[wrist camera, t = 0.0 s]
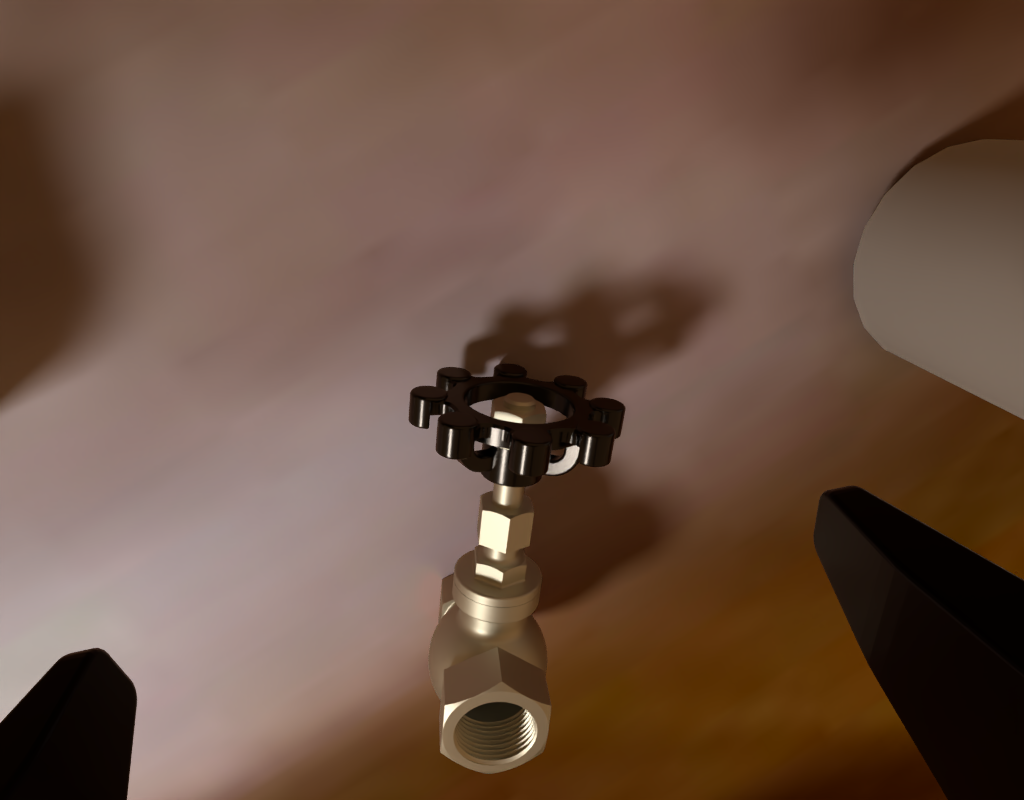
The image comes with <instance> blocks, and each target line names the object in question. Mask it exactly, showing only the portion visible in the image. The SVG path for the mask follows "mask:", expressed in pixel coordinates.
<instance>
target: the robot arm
mask: <svg viewBox="0 0 1024 800" xmlns="http://www.w3.org/2000/svg"><path fill="white" fill-rule="evenodd" d="M814 544H815V548H816V551H817V554H818V556H819V558H820V561H821V563H822V565H823V567H824V569H825V572H826V574H827V576H828V578H829V580H830V583H831V585H832V587H833V589H834V591H835V594H836V596H837V598H838V600H839V602H840V605H841V607H842V609H843V611H844V613H845V615H846V618H847V620H848V622H849V624H850V626H851V629H852V631H853V633H854V635H855V637H856V640H857V642H858V644H859V646H860V648H861V650H862V652H863V654H864V656H865V658H866V660H867V663H868V664H869V666H870V668H871V670H872V672H873V673H874V675H875V677H876V679H877V681H878V682H879V684H880V686H881V687H882V689H883V691H884V692H885V694H886V696H887V697H888V699H889V701H890V703H891V704H892V706H893V708H894V709H895V711H896V713H897V714H898V716H899V718H900V719H901V721H902V723H903V724H904V726H905V728H906V730H907V731H908V733H909V735H910V736H911V738H912V740H913V741H914V743H915V745H916V746H917V748H918V750H919V751H920V753H921V755H922V757H923V758H924V760H925V762H926V763H927V765H928V767H929V768H930V770H931V772H932V773H933V775H934V777H935V778H936V780H937V782H938V784H939V785H940V787H941V789H942V790H943V792H944V794H945V795H946V797H947V799H948V800H1024V580H1023V579H1021V578H1019V577H1017V576H1016V575H1014V574H1012V573H1010V572H1009V571H1007V570H1005V569H1003V568H1002V567H1000V566H998V565H996V564H995V563H993V562H991V561H989V560H988V559H986V558H984V557H982V556H980V555H979V554H977V553H975V552H973V551H972V550H970V549H968V548H966V547H965V546H963V545H961V544H959V543H958V542H956V541H954V540H952V539H951V538H949V537H947V536H945V535H944V534H942V533H940V532H938V531H936V530H935V529H933V528H931V527H929V526H928V525H926V524H924V523H922V522H921V521H919V520H917V519H915V518H914V517H912V516H910V515H908V514H907V513H905V512H903V511H901V510H900V509H898V508H896V507H894V506H893V505H891V504H889V503H887V502H885V501H884V500H882V499H880V498H878V497H877V496H875V495H873V494H871V493H870V492H868V491H866V490H864V489H862V488H860V487H857V486H846V487H841V488H837V489H832V490H827V491H825V492H824V493H823V494H822V495H821V496H820V500H819V505H818V511H817V517H816V523H815V529H814ZM136 706H137V694H136V690H135V687H134V684H133V682H132V681H131V680H130V678H129V677H128V676H127V675H126V674H125V673H124V671H123V670H122V669H121V668H120V667H119V666H118V665H117V663H116V662H115V661H114V660H113V659H112V658H111V657H110V655H109V654H108V653H107V652H106V651H105V650H102V649H99V648H93V649H88V650H83V651H79V652H74V653H70V654H67V655H65V656H63V657H62V658H60V659H59V660H58V661H57V662H56V663H55V664H54V665H53V666H52V667H51V668H50V669H49V671H48V672H47V673H46V674H45V675H44V676H43V677H42V678H41V679H40V680H39V681H38V682H37V684H36V685H35V686H34V687H33V688H32V689H31V690H30V691H29V692H28V693H27V694H26V696H25V697H24V698H23V699H22V700H21V701H20V702H19V703H18V704H17V705H16V706H15V707H14V709H13V710H12V711H11V712H10V713H9V714H8V715H7V716H6V717H5V718H4V719H3V721H2V722H1V723H0V800H127V793H128V783H129V774H130V764H131V754H132V745H133V735H134V726H135V716H136Z"/></svg>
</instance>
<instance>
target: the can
mask: <svg viewBox="0 0 1024 800" xmlns="http://www.w3.org/2000/svg"><path fill="white" fill-rule="evenodd" d="M853 275H854V301H855V304H856V306H857V309H858V312H859V315H860V318H861V320H862V323H863V326H864V328H865V329H866V330H867V331H868V332H869V333H870V335H871V336H872V337H873V338H874V339H875V340H876V341H877V342H878V344H879V345H880V346H881V347H882V348H883V349H885V350H887V351H889V352H891V353H893V354H895V355H897V356H899V357H901V358H903V359H905V360H907V361H909V362H911V363H913V364H915V365H916V366H918V367H920V368H922V369H924V370H926V371H928V372H930V373H932V374H934V375H936V376H938V377H940V378H942V379H944V380H946V381H948V382H950V383H952V384H954V385H956V386H958V387H960V388H962V389H964V390H966V391H968V392H970V393H972V394H974V395H976V396H978V397H980V398H982V399H984V400H986V401H988V402H990V403H992V404H994V405H996V406H998V407H1000V408H1002V409H1004V410H1006V411H1008V412H1010V413H1012V414H1014V415H1016V416H1018V417H1020V418H1022V419H1024V140H1001V139H982V140H977V141H972V142H968V143H963V144H959V145H954V146H949V147H947V148H945V149H943V150H942V151H940V152H938V153H936V154H934V155H933V156H931V157H929V158H927V159H926V160H924V161H922V162H920V163H918V164H917V165H915V166H913V167H912V168H911V169H910V170H909V171H908V172H907V173H906V174H905V175H904V176H903V177H902V178H901V179H900V180H899V181H898V182H897V183H896V184H895V185H894V186H893V187H892V188H891V189H890V190H889V191H888V192H887V193H886V194H885V195H884V196H883V198H882V200H881V201H880V203H879V205H878V206H877V208H876V210H875V211H874V213H873V215H872V216H871V218H870V220H869V221H868V223H867V224H866V226H865V228H864V230H863V234H862V237H861V240H860V244H859V247H858V251H857V254H856V257H855V261H854V264H853Z"/></svg>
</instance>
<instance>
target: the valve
mask: <svg viewBox="0 0 1024 800" xmlns="http://www.w3.org/2000/svg"><path fill="white" fill-rule="evenodd" d="M526 376H527V371H526V369H525V368H524V367H522V366H519V365H515V364H499V365H497V366H495V368H494V375H493V377H474V376H471V373H470V372H469V371H467V370H465V369H462V368H457V367H445V368H441V369H439V370H438V372H437V380H436V387H434V386H419V387H416V388H414V389H412V390H411V392H410V405H409V422H410V423H411V424H412V425H414V426H416V427H419V428H424V429H428V428H429V419H430V415H441V416H440V417H439V418H438V425H437V437H436V451H437V453H438V454H439V455H441V456H443V457H445V458H449V459H456V460H458V461H459V462H460V463H461V464H462V465H464V466H465V467H466V468H468V469H469V470H471V471H474V472H481V474H482V475H483V476H484V477H485V478H486V479H487V480H489V481H491V482H493V483H494V487H493V491H490V492H487V493H485V494H483V495H481V496H480V505H479V515H478V524H477V533H478V542H479V545H478V546H476V547H475V550H472V551H469V552H467V553H466V554H464V555H463V556H462V557H461V558H459V559H458V561H457V563H456V565H455V569H454V574H452V575H450V576H447V577H445V578H444V579H442V585H441V596H440V607H439V619H438V625H437V626H436V629H435V631H434V633H433V636H432V639H431V643H430V648H429V656H428V665H429V673H430V678H431V681H432V685H433V687H434V689H435V692H436V694H437V695H438V697H439V699H440V700H441V706H440V752H441V753H442V754H443V755H445V756H446V757H448V758H449V759H451V760H453V761H454V762H456V763H458V764H460V765H462V766H464V767H466V768H469V769H471V770H474V771H477V772H481V773H486V774H492V773H498V772H502V771H506V770H509V769H512V768H515V767H517V766H519V765H522V764H524V763H526V762H528V761H529V760H531V759H533V758H534V757H536V756H538V755H539V754H541V753H542V752H543V751H544V748H545V744H546V740H547V735H548V729H549V722H550V713H551V702H550V697H549V692H548V688H547V683H546V678H545V676H546V670H547V649H546V644H545V640H544V637H543V634H542V631H541V629H540V627H539V625H538V623H537V622H536V620H535V619H534V617H533V616H532V615H531V614H532V613H533V612H534V611H535V610H536V608H537V606H538V603H539V597H540V591H541V585H542V573H541V570H540V568H539V566H538V565H537V564H536V563H535V562H534V561H533V560H532V559H531V558H529V557H528V556H526V555H525V552H524V549H523V548H525V547H528V546H530V539H531V532H532V525H533V518H534V508H533V503H532V500H531V498H530V497H528V496H526V495H524V489H525V487H527V486H531V485H534V484H536V483H537V482H539V481H540V479H541V478H542V475H548V476H558V475H563V474H565V473H568V472H569V471H571V470H572V469H573V468H574V467H575V466H576V465H577V464H578V463H579V461H580V464H583V465H586V466H591V467H602V466H606V465H608V464H609V463H610V461H611V456H612V450H613V445H614V439H616V438H618V437H620V435H621V430H622V425H623V419H624V414H625V406H624V405H623V404H622V403H621V402H619V401H617V400H614V399H610V398H595V399H592V400H587V399H585V396H586V390H587V382H586V381H585V380H583V379H581V378H579V377H576V376H570V375H561V376H557V377H556V378H555V379H554V382H543V381H538V380H533V379H529V378H527V377H526ZM493 399H494V400H493ZM485 400H492V408H491V417H489V416H487V415H484V414H482V413H479V412H477V411H476V410H474V409H472V408H471V407H470V405H472V404H474V403H477V402H480V401H485ZM544 406H547V407H550V408H552V409H554V410H556V411H559V412H560V413H562V414H563V415H565V416H566V417H567V418H568V419H565V420H563V421H559V422H554V423H545V422H546V410H545V407H544ZM474 441H478V442H481V443H483V444H482V450H479V451H474ZM564 448H565V450H564V454H563V455H560V456H556V455H552V454H551V450H558V449H564Z"/></svg>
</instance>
